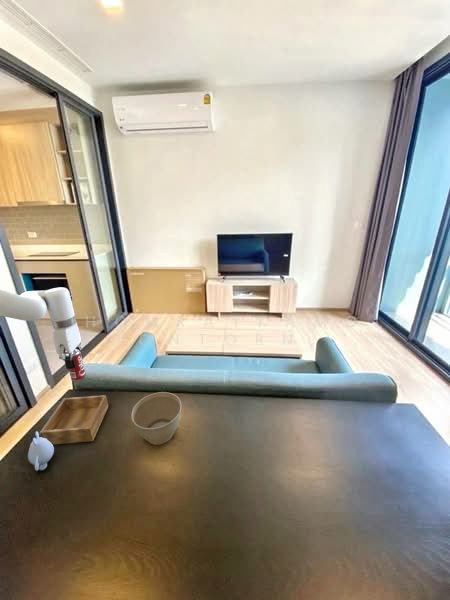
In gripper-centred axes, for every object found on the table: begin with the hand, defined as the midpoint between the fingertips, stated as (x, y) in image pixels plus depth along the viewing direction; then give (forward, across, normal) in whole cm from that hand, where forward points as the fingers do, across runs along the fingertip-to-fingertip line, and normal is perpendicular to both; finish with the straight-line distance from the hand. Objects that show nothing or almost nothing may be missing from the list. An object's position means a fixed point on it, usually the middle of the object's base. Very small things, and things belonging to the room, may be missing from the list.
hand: (75, 363), depth 97 cm
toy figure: (+17, +29, 0) cm, 33 cm away
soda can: (+7, 0, 0) cm, 7 cm away
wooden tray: (+17, +14, +4) cm, 22 cm away
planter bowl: (+17, +21, +34) cm, 43 cm away
